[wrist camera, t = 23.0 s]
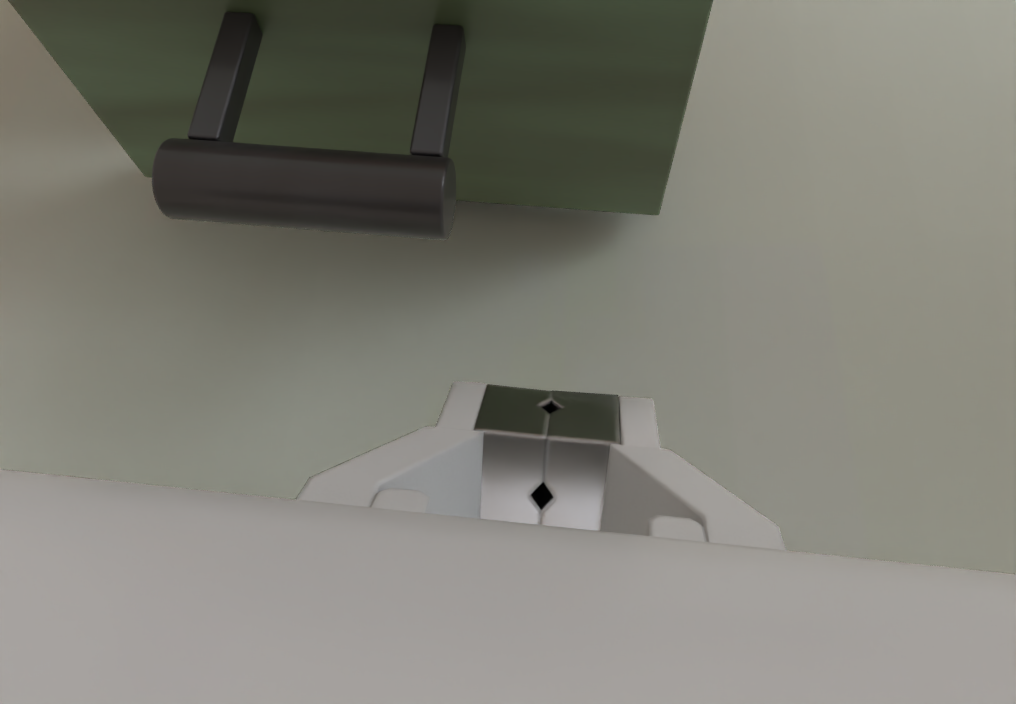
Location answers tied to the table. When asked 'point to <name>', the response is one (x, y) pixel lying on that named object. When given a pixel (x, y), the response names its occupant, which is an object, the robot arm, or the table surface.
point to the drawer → (383, 103)
